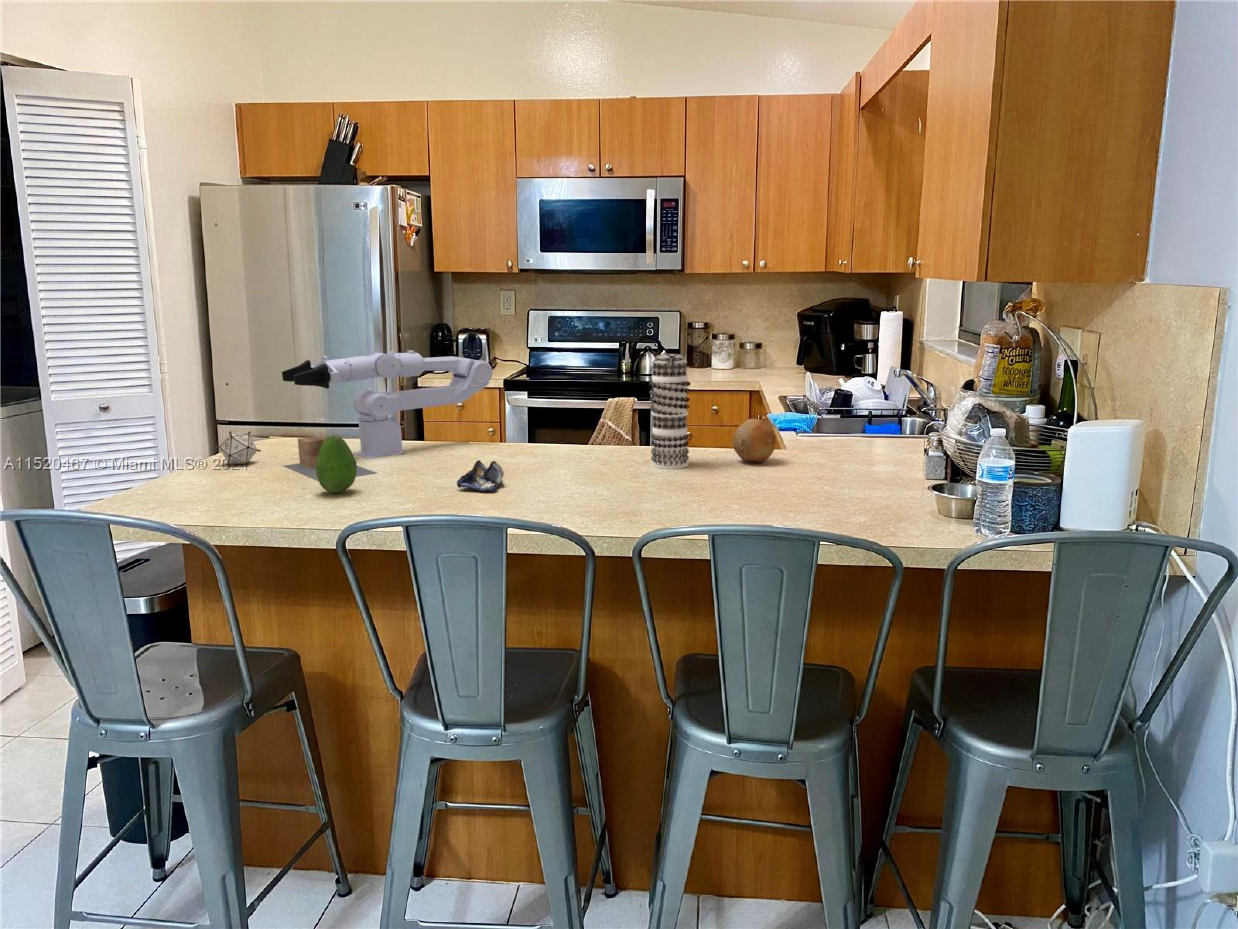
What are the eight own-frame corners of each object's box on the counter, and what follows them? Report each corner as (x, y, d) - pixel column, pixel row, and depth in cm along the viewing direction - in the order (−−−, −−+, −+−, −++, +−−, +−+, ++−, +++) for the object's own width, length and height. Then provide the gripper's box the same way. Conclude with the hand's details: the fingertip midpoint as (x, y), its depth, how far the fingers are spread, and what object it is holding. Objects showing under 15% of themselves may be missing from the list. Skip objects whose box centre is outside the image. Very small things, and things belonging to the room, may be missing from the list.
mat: (336, 459, 218) (335, 457, 218) (378, 474, 200) (378, 473, 200) (281, 467, 210) (281, 465, 209) (321, 484, 192) (321, 482, 192)
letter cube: (325, 461, 214) (322, 435, 213) (335, 465, 209) (333, 438, 208) (300, 465, 210) (297, 438, 209) (310, 469, 206) (307, 441, 204)
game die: (250, 479, 214) (274, 443, 215) (231, 474, 206) (256, 437, 207) (221, 459, 216) (245, 424, 217) (201, 453, 208) (226, 417, 208)
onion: (727, 465, 205) (728, 421, 203) (738, 456, 214) (739, 414, 212) (769, 468, 202) (770, 423, 200) (779, 459, 211) (780, 416, 209)
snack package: (527, 487, 189) (491, 477, 196) (522, 459, 186) (487, 450, 194) (481, 508, 181) (447, 496, 189) (476, 478, 179) (441, 468, 186)
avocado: (321, 499, 179) (316, 439, 177) (314, 491, 186) (309, 433, 184) (362, 494, 183) (358, 435, 180) (354, 486, 190) (350, 430, 187)
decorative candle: (669, 471, 200) (669, 357, 195) (641, 464, 207) (640, 354, 201) (698, 465, 206) (699, 354, 200) (670, 459, 213) (669, 352, 207)
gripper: (332, 350, 218) (275, 357, 210) (356, 356, 207) (297, 363, 199) (335, 379, 220) (279, 387, 212) (360, 386, 209) (301, 395, 201)
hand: (288, 378), depth 206 cm, fingers open, 7 cm apart
